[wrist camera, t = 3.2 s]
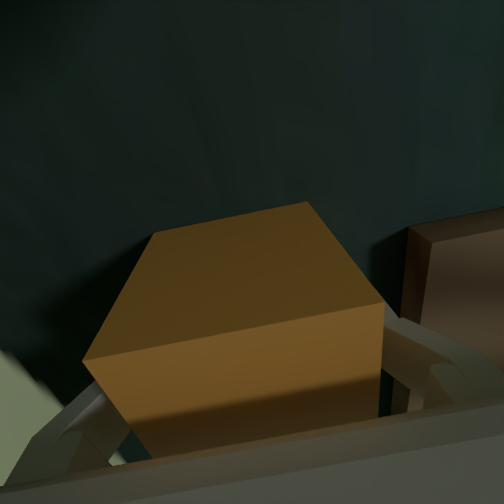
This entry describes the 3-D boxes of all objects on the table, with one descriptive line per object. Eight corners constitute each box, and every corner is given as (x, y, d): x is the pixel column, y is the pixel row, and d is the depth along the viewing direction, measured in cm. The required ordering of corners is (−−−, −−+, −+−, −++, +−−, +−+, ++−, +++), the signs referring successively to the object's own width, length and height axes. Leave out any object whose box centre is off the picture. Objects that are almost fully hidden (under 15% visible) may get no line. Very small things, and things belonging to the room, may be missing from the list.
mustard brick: (154, 232, 11) (81, 361, 5) (306, 201, 11) (385, 302, 5) (197, 341, 14) (178, 493, 8) (318, 317, 13) (375, 457, 8)
